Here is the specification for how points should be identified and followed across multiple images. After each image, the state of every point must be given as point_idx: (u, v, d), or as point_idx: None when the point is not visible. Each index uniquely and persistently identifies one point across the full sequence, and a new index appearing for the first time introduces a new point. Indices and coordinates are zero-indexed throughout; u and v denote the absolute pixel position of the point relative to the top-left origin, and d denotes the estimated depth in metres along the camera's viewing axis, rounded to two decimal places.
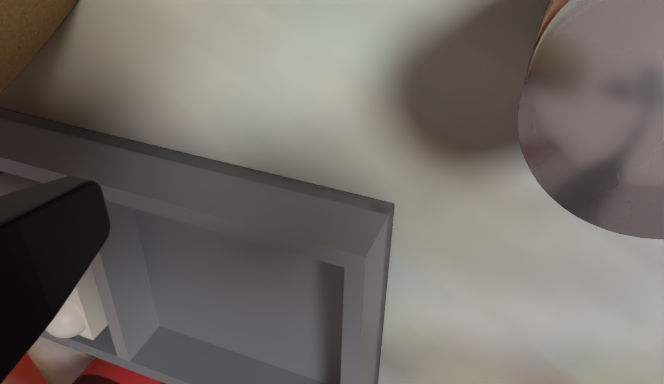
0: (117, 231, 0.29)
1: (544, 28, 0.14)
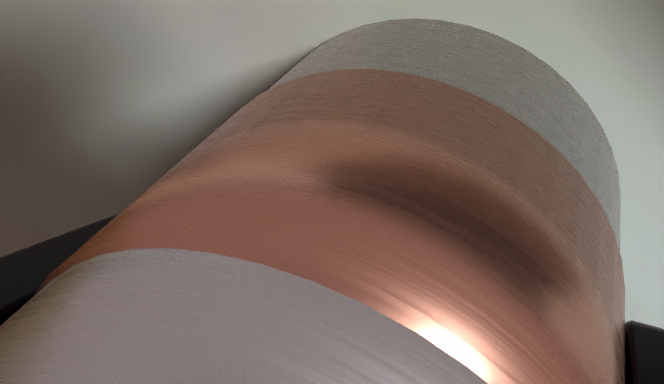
0: None
1: None
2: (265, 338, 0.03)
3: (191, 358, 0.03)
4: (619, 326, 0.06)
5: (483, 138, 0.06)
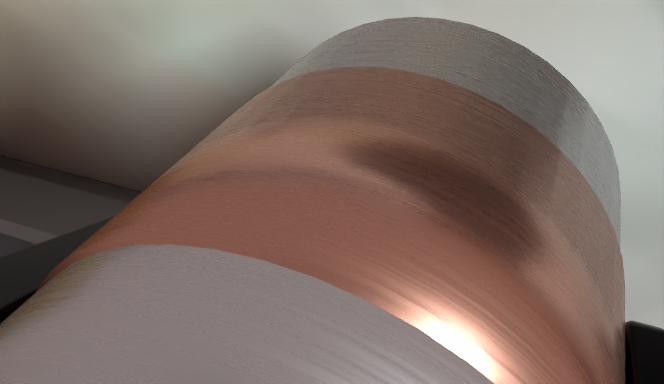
0: (5, 255, 0.27)
1: None
2: (267, 333, 0.03)
3: (193, 352, 0.03)
4: (620, 323, 0.06)
5: (484, 135, 0.06)
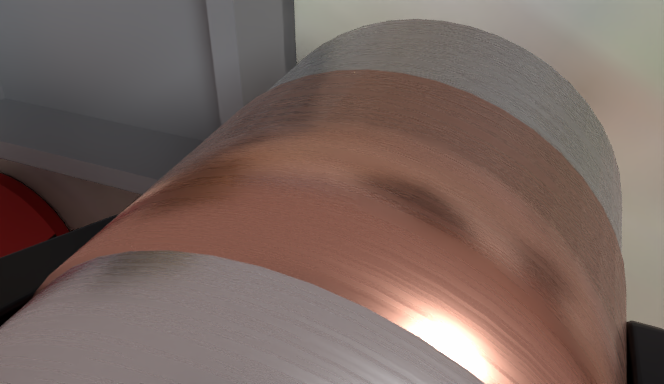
0: None
1: None
2: (265, 342, 0.03)
3: (189, 363, 0.03)
4: (621, 328, 0.06)
5: (484, 139, 0.06)
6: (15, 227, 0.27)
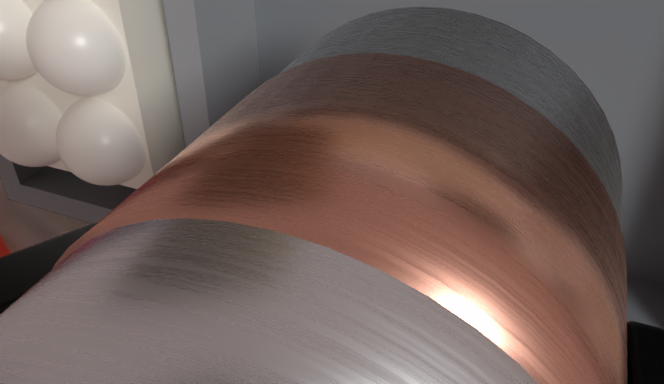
0: None
1: None
2: (283, 298, 0.04)
3: (212, 314, 0.03)
4: (622, 302, 0.06)
5: (489, 118, 0.06)
6: None
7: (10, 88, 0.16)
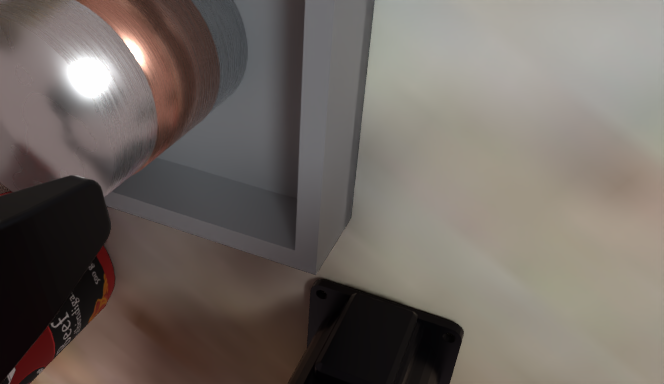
0: None
1: None
2: None
3: (26, 0, 0.15)
4: (190, 46, 0.17)
5: None
6: None
7: None
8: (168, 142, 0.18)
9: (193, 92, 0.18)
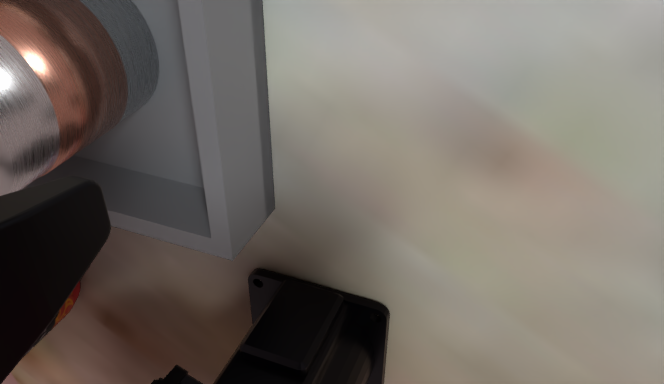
0: None
1: None
2: None
3: None
4: (90, 53, 0.19)
5: None
6: None
7: None
8: (76, 142, 0.19)
9: (96, 95, 0.19)
